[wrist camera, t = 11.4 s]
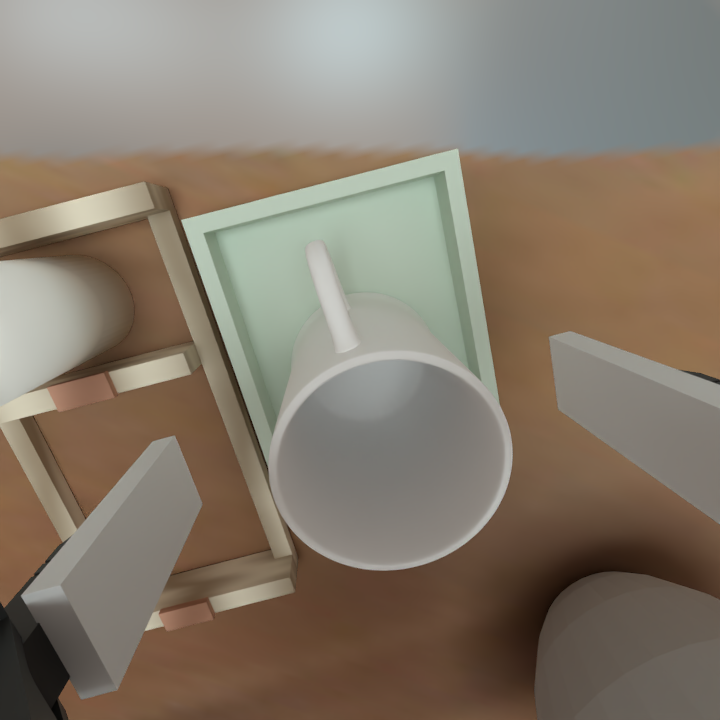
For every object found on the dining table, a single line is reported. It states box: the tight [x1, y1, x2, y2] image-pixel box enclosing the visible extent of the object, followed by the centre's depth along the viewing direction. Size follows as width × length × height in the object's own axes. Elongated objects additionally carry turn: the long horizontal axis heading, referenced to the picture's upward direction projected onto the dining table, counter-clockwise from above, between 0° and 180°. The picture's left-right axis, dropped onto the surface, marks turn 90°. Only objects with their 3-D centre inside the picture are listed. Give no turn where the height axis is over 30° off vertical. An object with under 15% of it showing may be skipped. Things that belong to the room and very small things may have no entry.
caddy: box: [0, 182, 298, 631], centre depth 25 cm, size 13×25×3 cm, turn 14°
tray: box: [181, 149, 500, 466], centre depth 24 cm, size 14×17×3 cm
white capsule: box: [0, 255, 134, 406], centre depth 20 cm, size 6×6×9 cm
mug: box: [268, 240, 513, 571], centre depth 19 cm, size 12×8×12 cm
